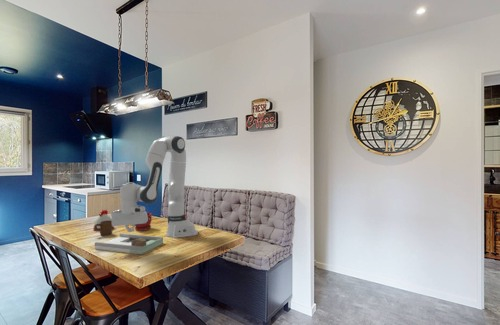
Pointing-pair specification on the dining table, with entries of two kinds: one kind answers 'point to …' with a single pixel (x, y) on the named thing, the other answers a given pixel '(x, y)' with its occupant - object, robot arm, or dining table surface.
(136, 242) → the block
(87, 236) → the dining table surface
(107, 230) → the mug
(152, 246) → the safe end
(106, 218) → the kitchen timer
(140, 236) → the white board with recesses
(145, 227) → the plant pot
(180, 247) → the dining table surface
